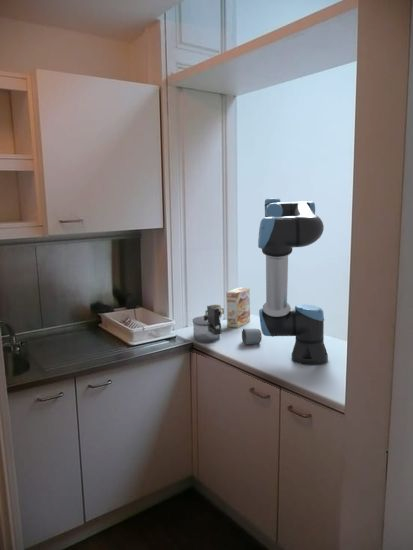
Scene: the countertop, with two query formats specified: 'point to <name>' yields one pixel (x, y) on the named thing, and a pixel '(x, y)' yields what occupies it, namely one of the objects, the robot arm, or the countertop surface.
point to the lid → (208, 317)
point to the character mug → (219, 312)
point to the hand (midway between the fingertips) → (273, 278)
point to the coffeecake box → (238, 307)
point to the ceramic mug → (251, 336)
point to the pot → (206, 333)
